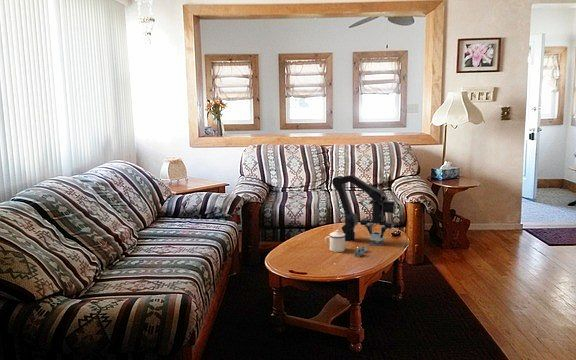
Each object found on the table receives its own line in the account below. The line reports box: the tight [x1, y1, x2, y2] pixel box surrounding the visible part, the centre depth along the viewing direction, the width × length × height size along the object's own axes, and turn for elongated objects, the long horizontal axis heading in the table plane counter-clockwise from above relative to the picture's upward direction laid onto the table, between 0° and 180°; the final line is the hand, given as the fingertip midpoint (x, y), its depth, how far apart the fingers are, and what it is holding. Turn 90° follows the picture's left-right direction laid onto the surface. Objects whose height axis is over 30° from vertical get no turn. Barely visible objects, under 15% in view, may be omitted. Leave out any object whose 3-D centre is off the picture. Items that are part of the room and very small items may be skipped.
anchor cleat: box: [354, 246, 364, 258], centre depth 266 cm, size 5×3×5 cm, turn 150°
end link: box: [369, 231, 384, 241], centre depth 286 cm, size 6×6×4 cm
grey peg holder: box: [369, 239, 385, 247], centre depth 286 cm, size 8×8×5 cm
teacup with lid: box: [324, 229, 346, 253], centre depth 276 cm, size 12×9×12 cm
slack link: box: [359, 245, 368, 254], centre depth 273 cm, size 4×3×2 cm
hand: (376, 237), depth 286 cm, fingers closed on end link, 6 cm apart
